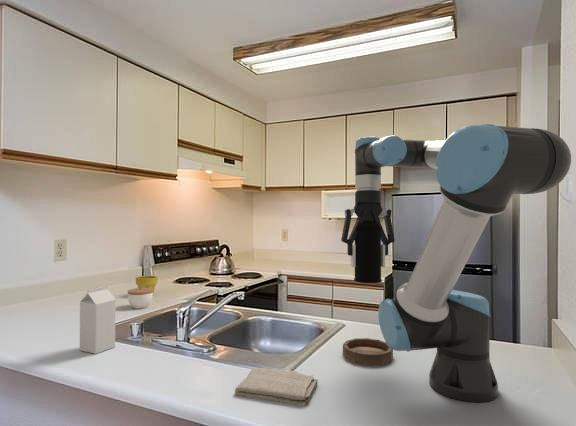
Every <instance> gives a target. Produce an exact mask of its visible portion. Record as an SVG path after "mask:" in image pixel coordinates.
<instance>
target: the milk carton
mask: <svg viewBox="0 0 576 426" xmlns="http://www.w3.org/2000/svg"><path fill="white" fill-rule="evenodd" d="M115 347H116V298H115V297H114V295H113V294H112V293H111V290H109V285H106V286H105V285H104V286H101V287H96V288H91V289H87V293H86V294H85V295H84V296H83V298H81V300H80V301H79V351H81V352H86V353H90V354H94V355H97V354H100V353H102V352H105V351H107V350H110V349H112V348H115Z"/></svg>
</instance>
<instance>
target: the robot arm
mask: <svg viewBox="0 0 576 426" xmlns="http://www.w3.org/2000/svg"><path fill="white" fill-rule="evenodd" d="M354 154H355V155H354V158H355V159H354V160H355V161H354V162H355V163H354V164H355V166H354V167H355V170H354V172H355V176H354V177H355V179H354V185H355V187H354V188H355V189H356V191H355V192H354V198H355V199H354V207H353V208H348V209H347V208H346V209H344V217H345V218H344V223H343V228H342V234H341V240H340V241H341V242H342V243H345V244H346V245H347V255H348V256H350V267H351V268H355V265H356V245H355V238H356V235H357V229H356V228H357V227H358V226H359V225H360V224H362V223H363V221H373V222H376V223H377V224H379V225H380V227H381V228H382V229H381V268H385V267H386V256H389V245H390V244H392V243H394V242H395V240H396V239H395V235H394V229H393V223H392V210H391V209H387V208H382V191H381V188H382V168H384V167H391V168H392V167H397V168H399V167H400V168H418V169H419V168H421V169H430V170H431V169H432V170H435V176H436V179H437V183H438V184H439V192H440V194H441V195H442V197H443V201H442V203H441V205H440V207H439V210H438V213H437V215H436V217H435V219H434V222H433V224H432V226H431V229H430V231H429V234H428V235H427V238H426V240H425V243H424V245H423V246H422V247H423V248H422V250H421V252H420V254H419V257H418V258H417V262H416V263H415V266H414V269H413V271H412V273H411V276H410V277H409V280H408V282H405V283H403V284H401V285H400V286H399V287H398V288H397V291H396V293H395V295H394V297H393V298H386V299H384V300H382V301H380V303H379V306H378V312H377V313H378V323H379V327H380V331H381V334H382V336H383V339H384V342H386V343H387V344H388V345H389V347H390V348H392V349H393V351H397V352H410V351H411V352H412V351H422V350H430V349H436V354H435V356H434V359H433V362H432V365H431V369H430V371H429V373H428V374H429V375H428V377H429V381H428V382H429V385H430V387H431V388H432V389H433V390H434V391H436V392H437V393H439V394H441V395H444V397H448V398H451V399H455V400H457V401H463V402H471V403H484V402H490V401H494V400H496V398H498V395H499V383H498V381H497V378H496V374H495V371H494V369H493V367H492V363H491V359H490V335H491V332H490V331H491V330H490V328H491V314H490V303H489V300H488V299H487V298H486V297H484V296H482V295H479V294H476V293H471V292H466V291H461V290H456V289H455V290H454V287H455V286H456V284H457V282H458V280H459V277H461V274H462V272H463V270H464V268H465V266H466V264H467V262H468V260H469V258H470V256H471V254H472V252H473V251H474V249H475V247H476V245H477V243H478V241H479V239H480V237H481V236H482V234H483V231H484V230H485V228H486V226H487V224H488V222H489V220H490V218H491V217H494V216H497V215H500V214H502V213H504V211H505V210H506V208H507V206H508V204H509V203H510V200H511V199H512V196H513V195H532V194H533V195H534V194H539V193H544V192H546V191H548V190H551V189H553V188H555V187H557V186H558V184H560V183H561V182H562V181H563V180H565V177H566V176H567V175H568V173H569V170H570V168H571V164H572V153H571V150H570V147H569V146H568V144H567V142H566V141H565V140H564V139H563V138H562V137H561V136H559V134H556V133H555V132H553V131H550V130H547V129H542V128H534V127H533V128H531V127H530V128H529V127H519V126H518V127H516V126H504V125H503V126H502V125H495V124H490V123H486V124H479V125H478V124H472V125H464V126H462V127H461V128H458V129H457V130H454V132H451V134H450V135H449V136H448V137H447V138H446V139H445V140H422V139H421V140H419V139H416V140H415V139H403V138H402V137H399V136H397V135H387V136H384V137H381V138H379V137H377V136H364V137H359V138H357V139H356V140H355V147H354ZM354 214H355V215H356V220H355V224H354V226H353V227H352V230H351V232H350V228H351V221H352V216H354ZM381 214H382V216H383V220H384V221H383V222H384V225H385V230H386V233H385V230H384V228H383V226H382V223H381V219H380V215H381ZM349 232H350V234H349Z"/></svg>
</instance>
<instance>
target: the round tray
mask: <svg viewBox="0 0 576 426" xmlns="http://www.w3.org/2000/svg"><path fill="white" fill-rule="evenodd" d="M342 355H343V357H344V358H345V360H347V361H349V362H352V363H353V364H358V365H363V366H367V367H368V366H370V367H371V366H383V365H387V364H389V363H390V364H391V362H392V360H393V358H394V349H392V348H390V347H389V345H388V344H387V343H386V341H382V340H381V339H375V338H369V337H367V338H365V337H363V338H362V337H360V338H352V339H348V340H346V341H345V342H344V343H342Z"/></svg>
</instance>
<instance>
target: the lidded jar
mask: <svg viewBox="0 0 576 426" xmlns="http://www.w3.org/2000/svg"><path fill="white" fill-rule="evenodd" d="M153 296H154V294H153V289H151V288H142V286H139V288H138V287H137V288H132V289H128V290H127V298H128V303H129V305H130V307H132V308H133V309H135V310H141V309H146V308H148V307H149V306H150V305H151V303H152V301H153V298H154V297H153Z"/></svg>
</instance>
